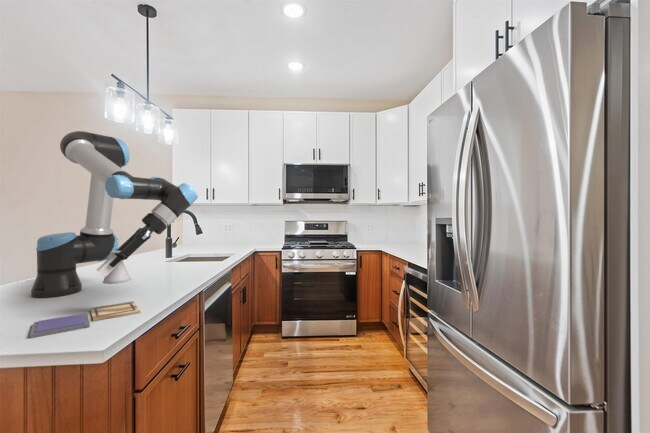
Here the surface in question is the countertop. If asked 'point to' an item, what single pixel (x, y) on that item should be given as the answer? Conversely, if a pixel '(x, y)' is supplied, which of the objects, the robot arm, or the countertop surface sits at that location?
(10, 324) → the countertop surface
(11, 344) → the countertop surface
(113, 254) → the flask
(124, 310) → the marked board
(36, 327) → the ink pad
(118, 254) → the robot arm
